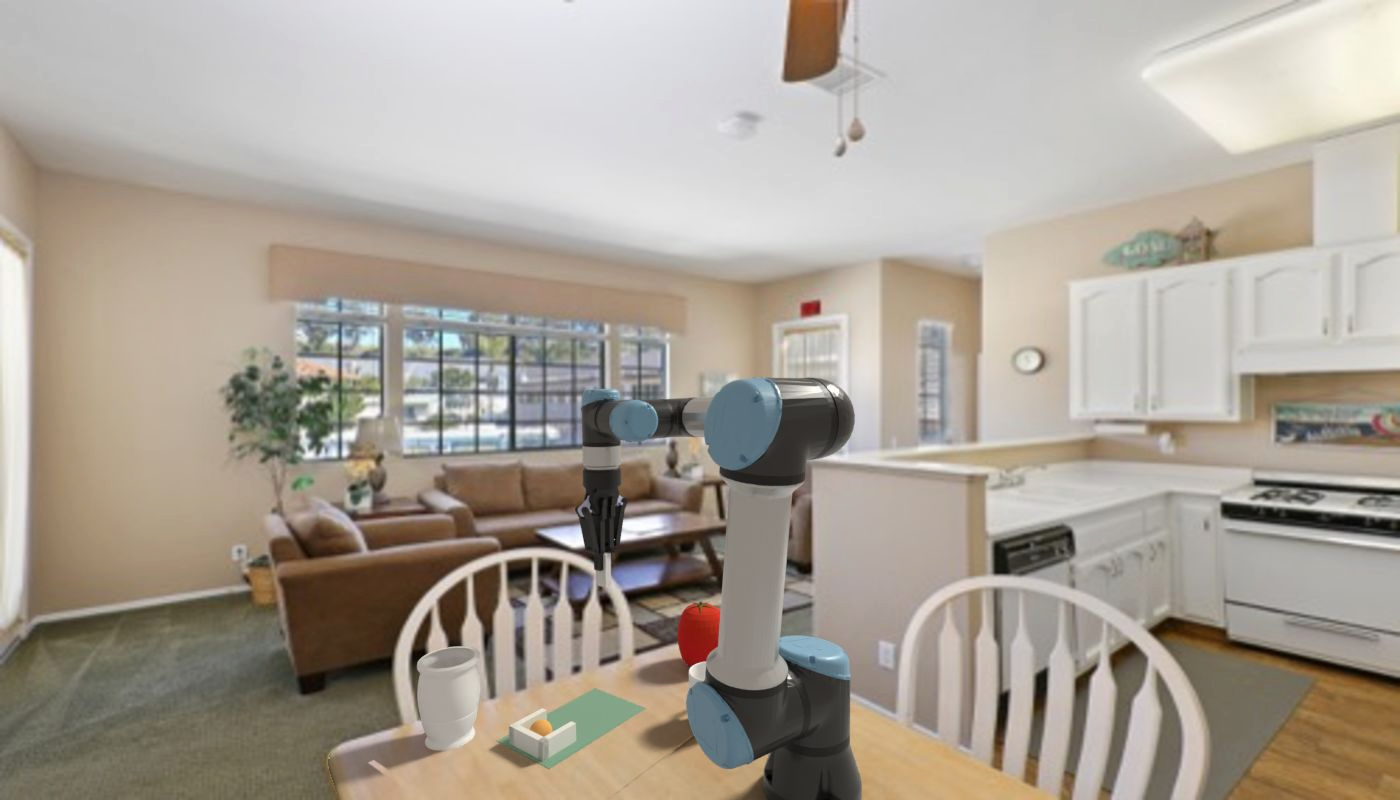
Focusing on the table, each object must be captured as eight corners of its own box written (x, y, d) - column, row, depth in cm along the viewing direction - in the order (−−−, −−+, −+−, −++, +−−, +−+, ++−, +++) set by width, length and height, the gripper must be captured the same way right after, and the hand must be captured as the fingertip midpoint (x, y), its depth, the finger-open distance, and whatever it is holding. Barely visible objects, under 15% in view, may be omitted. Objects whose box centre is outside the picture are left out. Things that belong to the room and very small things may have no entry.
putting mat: (646, 711, 124) (645, 708, 124) (549, 772, 105) (549, 768, 105) (595, 690, 133) (595, 688, 133) (496, 744, 113) (496, 741, 113)
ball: (556, 742, 113) (558, 720, 113) (539, 752, 110) (540, 728, 110) (540, 735, 115) (542, 712, 115) (523, 743, 112) (524, 721, 112)
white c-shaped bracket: (576, 741, 113) (575, 723, 113) (543, 761, 107) (542, 742, 107) (542, 725, 119) (542, 708, 118) (509, 743, 113) (509, 725, 113)
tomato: (708, 648, 153) (707, 590, 153) (740, 664, 144) (740, 602, 144) (665, 664, 145) (665, 602, 145) (697, 682, 136) (697, 616, 136)
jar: (456, 718, 122) (454, 641, 122) (493, 733, 117) (492, 652, 116) (405, 746, 113) (403, 662, 113) (444, 764, 108) (442, 676, 107)
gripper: (610, 462, 134) (611, 573, 135) (564, 469, 123) (565, 590, 124) (637, 464, 130) (639, 579, 130) (592, 472, 119) (594, 598, 120)
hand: (603, 585), depth 127 cm, fingers closed
